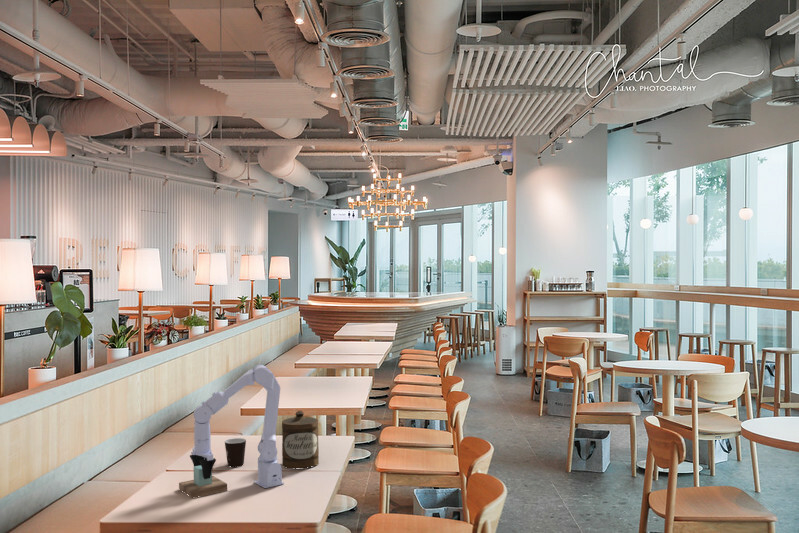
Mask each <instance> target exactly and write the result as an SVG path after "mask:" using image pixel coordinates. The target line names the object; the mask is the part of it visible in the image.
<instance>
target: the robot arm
mask: <svg viewBox="0 0 799 533" xmlns="http://www.w3.org/2000/svg"><path fill="white" fill-rule="evenodd" d="M255 383H256V384H258V385H260V386H261V387H263V388H264V389H265V391H266V398H265V400H266V401H265V408H264V416H263V417H264V418H263V428H262V433H261V436H260V441H259V443H258V445H257V451H258V453H259V457H258V458H257V480H253V483H254V484H257V485H258V486H259V487H262V488H264V489H269V488H272V487H277V486H281V485H284V484H285V482H283V480H282V478H283V477H282V475H283V473H282V466H281V464H280V463H279V461H278V448H277V438H276V436H277V434H276V432H277V424H278V423H277V422H278V414H279V405H280V394H281V386H280V384H279V382H278V380H277V378H276V377H275V374H274V373H273V372H272V371H271V370H270V369H269V368H268V367H267V366H266V365H263V364H257V365H255V366H254V367H252V368H250V369H249V370H247V371H246V372H245V373H244V374H242V375H241V376H240V377H239V378H237V379H236V380H235V381H234V382H233V383H232V384H230V385H229V386H228V387H227V388H226V389H225V390H224V391H221V390H220V391H217V392H212V394H211V396H210V397H209V398H208V399H206V401H202V402H201V404H200V405H198V406H196V407H195V409H194V410H193V418H194V427H193V431H194V433H193V434H194V435H193V436H194V437H193V438H194V439H193V440H194V446H193V447H192V451H191V453H190V455H189V457H190V459H191V462H192V464H193V467H194V466H200V465H201V466H202V471H203V477H204V479H209V478H210V476H211V472H212V473H213V468H214V466H215V463H216V461H217V459H216V458H215V457H214V454H213V451H212V448H211V446H212V445H211V441H212V438H211V425H210V420H211V418H212V416H214V415H215V414H217V413H218V412H219V411H221V410H222V409H223V408H224V407H225V406H227V405H228V403H229V399H230V398H231V397H233V396H234V395H235V394H237V393H238V392H239V391H241V390H242V389H243V388H245V387H246V386H253V385H255Z"/></svg>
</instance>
